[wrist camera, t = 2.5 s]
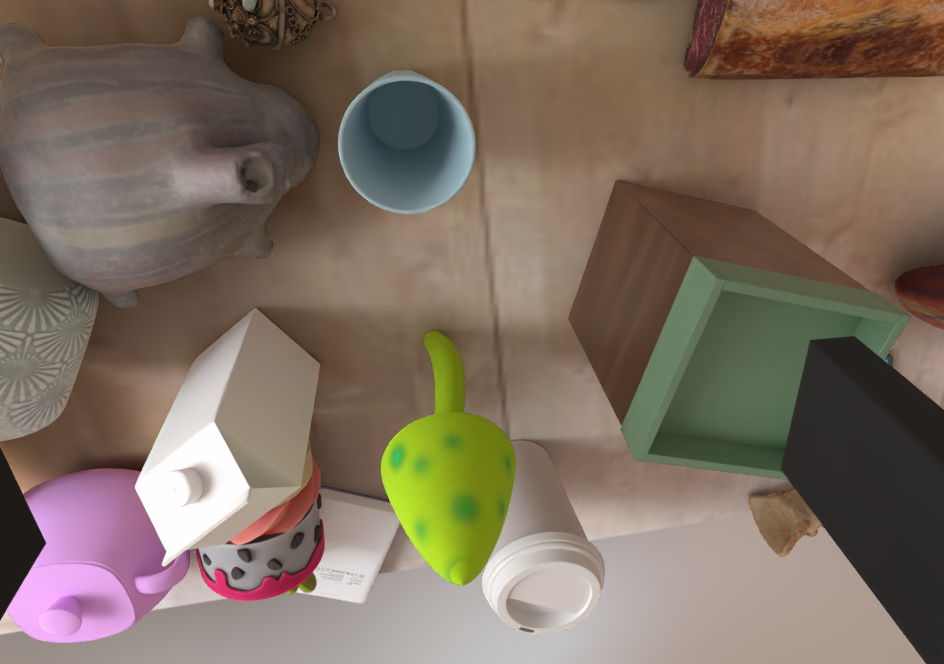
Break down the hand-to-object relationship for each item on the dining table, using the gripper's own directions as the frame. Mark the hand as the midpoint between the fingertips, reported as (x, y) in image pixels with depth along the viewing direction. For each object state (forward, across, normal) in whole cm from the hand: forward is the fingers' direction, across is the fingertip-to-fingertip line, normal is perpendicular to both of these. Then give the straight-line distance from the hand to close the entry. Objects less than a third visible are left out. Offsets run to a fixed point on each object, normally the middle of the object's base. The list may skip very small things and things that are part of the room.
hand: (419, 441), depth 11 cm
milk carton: (+40, -14, -21) cm, 47 cm away
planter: (+34, -25, -8) cm, 43 cm away
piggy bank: (+40, -15, -4) cm, 43 cm away
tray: (+25, +20, -16) cm, 35 cm away
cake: (+35, -15, -26) cm, 46 cm away
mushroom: (+40, +1, -21) cm, 45 cm away
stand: (+40, +19, -16) cm, 47 cm away
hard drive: (+39, -7, -36) cm, 54 cm away
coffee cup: (+40, +7, -35) cm, 54 cm away
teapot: (+40, -30, -35) cm, 61 cm away
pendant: (+39, -8, +7) cm, 40 cm away
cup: (+40, 0, -2) cm, 40 cm away
